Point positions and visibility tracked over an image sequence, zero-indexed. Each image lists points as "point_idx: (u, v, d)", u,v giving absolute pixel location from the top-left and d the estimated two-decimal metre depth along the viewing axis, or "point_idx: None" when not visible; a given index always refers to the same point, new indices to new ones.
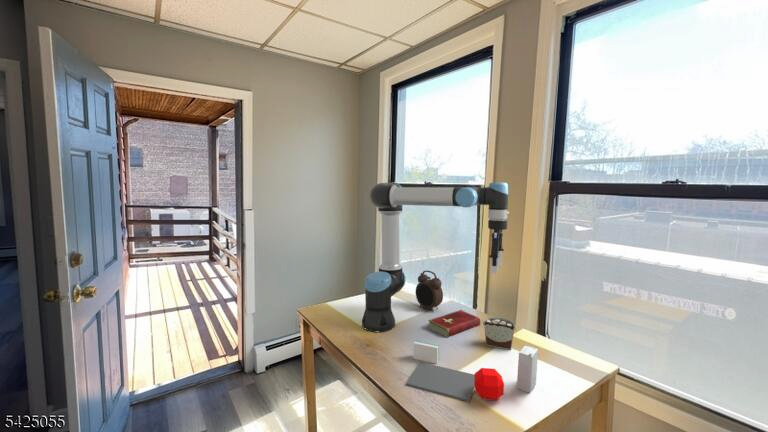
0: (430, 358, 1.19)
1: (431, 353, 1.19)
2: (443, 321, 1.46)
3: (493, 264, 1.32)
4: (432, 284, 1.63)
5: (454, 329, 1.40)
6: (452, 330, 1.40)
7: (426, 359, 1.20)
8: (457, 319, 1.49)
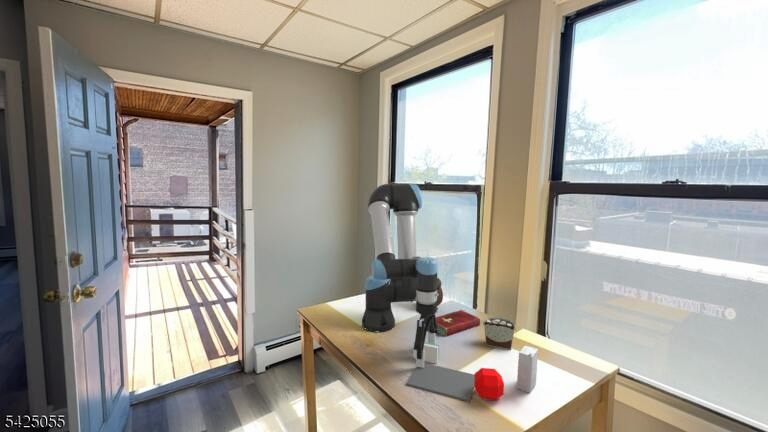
0: (430, 358, 1.19)
1: (431, 353, 1.19)
2: (442, 320, 1.47)
3: (418, 357, 1.13)
4: None
5: (453, 328, 1.41)
6: (450, 329, 1.40)
7: (426, 359, 1.20)
8: (457, 318, 1.49)
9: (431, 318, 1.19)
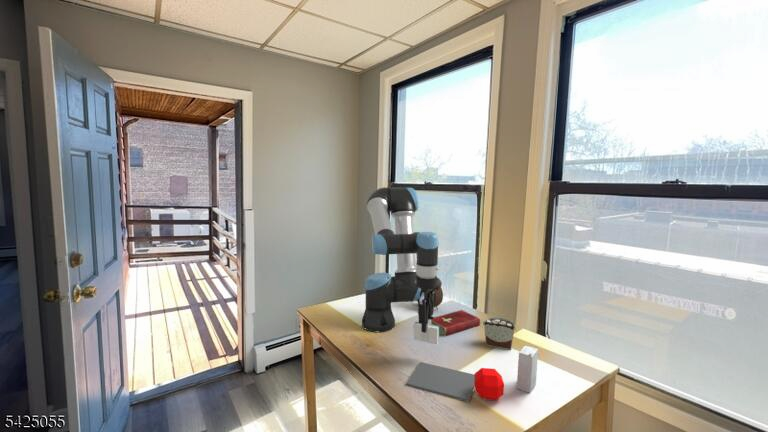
0: (430, 339, 1.19)
1: (431, 334, 1.19)
2: (442, 320, 1.47)
3: (422, 330, 1.18)
4: None
5: (452, 328, 1.41)
6: (450, 329, 1.40)
7: None
8: (456, 318, 1.49)
9: (431, 292, 1.19)
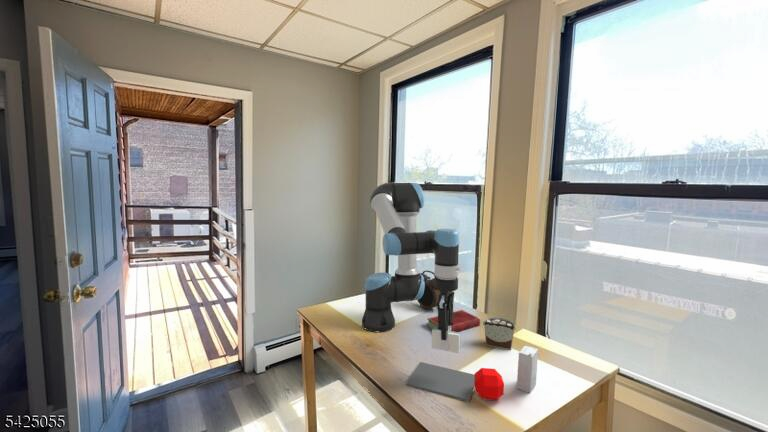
0: (451, 347, 1.07)
1: (451, 342, 1.07)
2: None
3: (442, 338, 1.06)
4: (432, 284, 1.63)
5: (452, 328, 1.41)
6: None
7: None
8: (456, 318, 1.49)
9: (451, 295, 1.08)
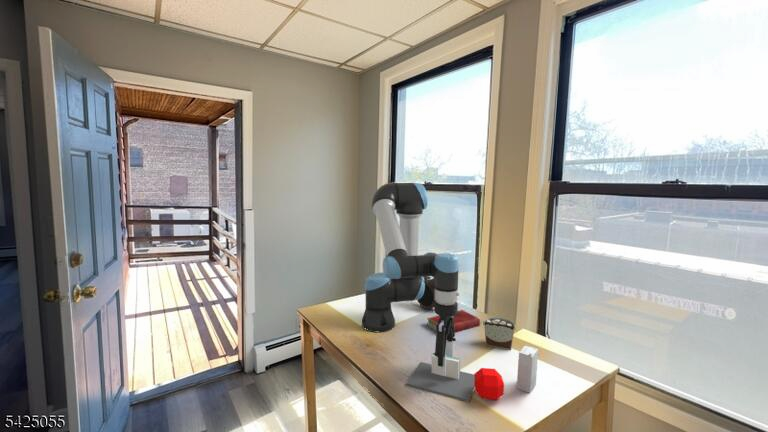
0: (450, 373, 1.08)
1: (451, 368, 1.08)
2: None
3: (439, 364, 1.04)
4: (432, 284, 1.63)
5: None
6: None
7: (446, 374, 1.09)
8: (456, 318, 1.49)
9: (451, 320, 1.09)
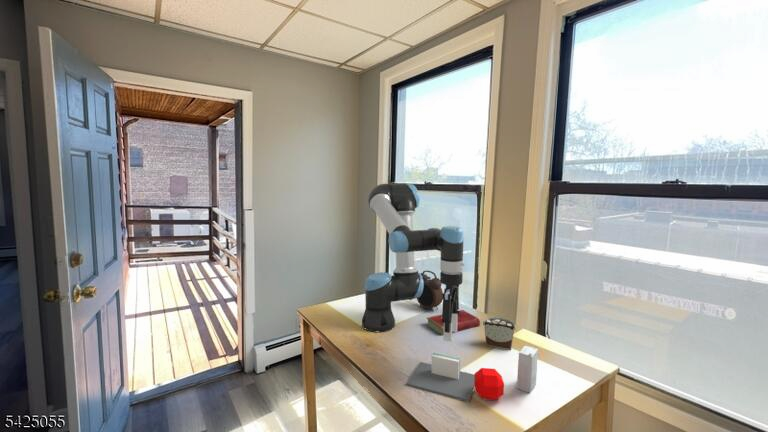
0: (450, 373, 1.08)
1: (451, 368, 1.08)
2: (441, 319, 1.48)
3: (445, 330, 1.11)
4: (432, 284, 1.63)
5: None
6: None
7: (446, 374, 1.09)
8: None
9: (456, 289, 1.14)
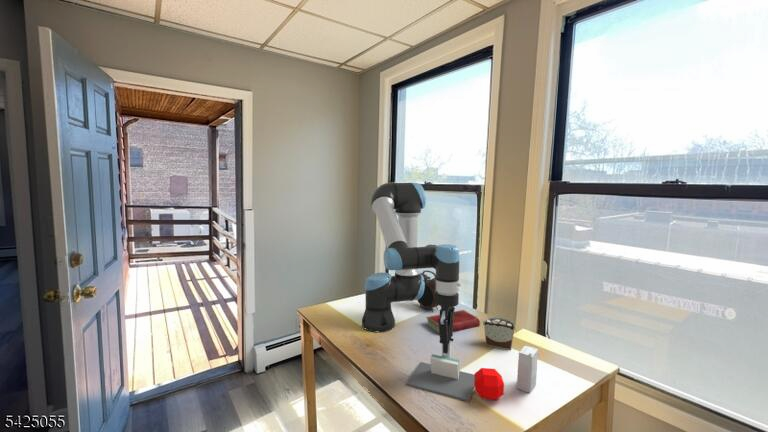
0: (450, 374, 1.08)
1: (450, 369, 1.07)
2: None
3: (444, 351, 1.09)
4: (432, 284, 1.63)
5: None
6: None
7: (445, 374, 1.09)
8: (456, 318, 1.50)
9: (452, 310, 1.09)
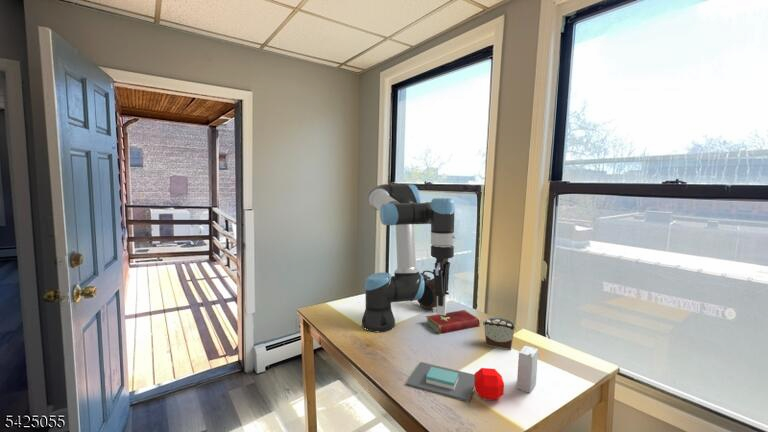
0: None
1: None
2: (440, 318, 1.49)
3: (439, 304, 1.09)
4: (432, 284, 1.63)
5: (448, 326, 1.43)
6: (445, 327, 1.42)
7: None
8: (455, 317, 1.50)
9: (447, 263, 1.10)
